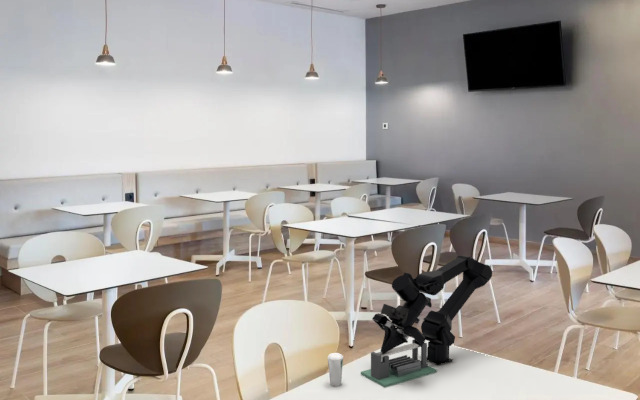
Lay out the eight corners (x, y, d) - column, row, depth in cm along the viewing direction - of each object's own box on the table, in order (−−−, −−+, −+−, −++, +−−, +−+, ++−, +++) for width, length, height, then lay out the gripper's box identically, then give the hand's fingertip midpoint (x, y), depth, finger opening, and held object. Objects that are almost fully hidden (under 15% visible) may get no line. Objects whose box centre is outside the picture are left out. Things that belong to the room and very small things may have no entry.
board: (411, 360, 195) (411, 357, 195) (436, 372, 186) (436, 369, 186) (360, 374, 185) (360, 371, 184) (384, 387, 175) (384, 384, 175)
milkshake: (344, 388, 175) (344, 354, 174) (326, 386, 176) (326, 353, 175) (347, 381, 179) (347, 348, 178) (329, 380, 180) (329, 347, 179)
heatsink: (405, 363, 191) (405, 354, 190) (421, 370, 185) (421, 361, 185) (382, 369, 186) (382, 360, 186) (397, 377, 180) (398, 368, 180)
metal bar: (418, 347, 190) (418, 340, 190) (423, 350, 188) (423, 343, 188) (375, 359, 181) (375, 352, 181) (381, 362, 179) (381, 354, 179)
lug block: (381, 373, 183) (381, 349, 183) (388, 377, 180) (389, 353, 180) (370, 375, 181) (370, 352, 180) (378, 380, 178) (378, 356, 177)
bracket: (416, 361, 192) (416, 338, 191) (428, 367, 188) (428, 343, 187) (410, 363, 191) (410, 340, 190) (422, 368, 186) (422, 344, 186)
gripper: (377, 287, 189) (347, 328, 185) (418, 301, 174) (387, 346, 169) (396, 308, 194) (368, 348, 190) (438, 323, 179) (408, 368, 174)
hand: (382, 352), depth 180 cm, fingers closed, pressing on metal bar
